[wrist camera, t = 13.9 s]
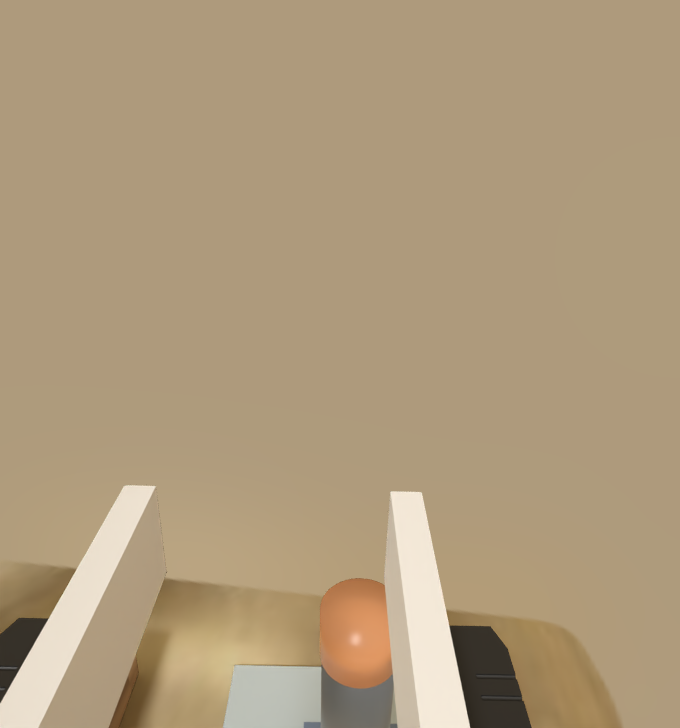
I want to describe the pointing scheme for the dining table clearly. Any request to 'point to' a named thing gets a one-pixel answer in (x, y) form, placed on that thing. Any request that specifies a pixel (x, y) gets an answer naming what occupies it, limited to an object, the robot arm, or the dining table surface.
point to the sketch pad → (277, 698)
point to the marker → (355, 656)
